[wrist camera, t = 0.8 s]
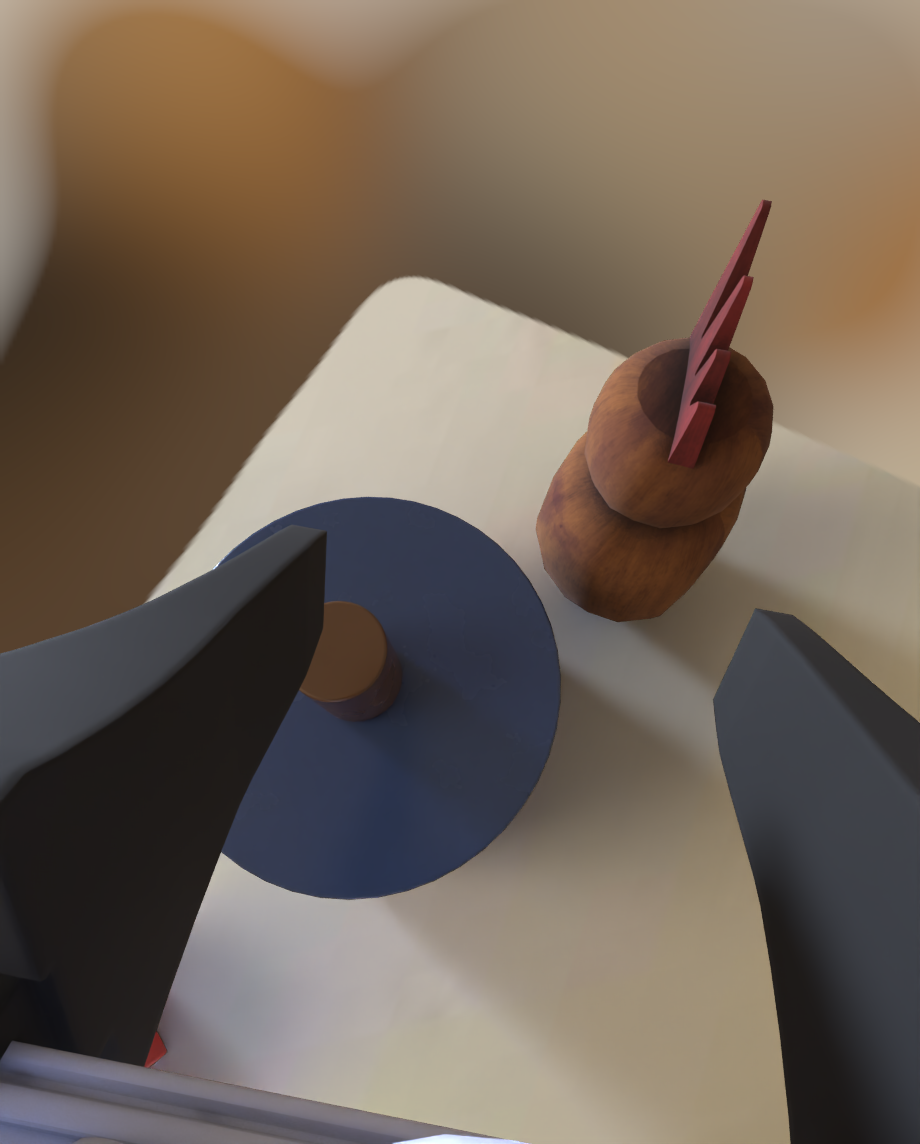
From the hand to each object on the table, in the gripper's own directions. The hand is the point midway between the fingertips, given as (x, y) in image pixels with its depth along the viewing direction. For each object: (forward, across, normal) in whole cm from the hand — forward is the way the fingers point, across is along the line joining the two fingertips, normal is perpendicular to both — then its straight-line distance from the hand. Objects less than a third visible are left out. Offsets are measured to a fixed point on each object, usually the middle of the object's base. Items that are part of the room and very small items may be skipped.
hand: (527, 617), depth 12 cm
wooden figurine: (+14, -4, +7) cm, 16 cm away
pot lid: (+5, +4, +6) cm, 9 cm away
